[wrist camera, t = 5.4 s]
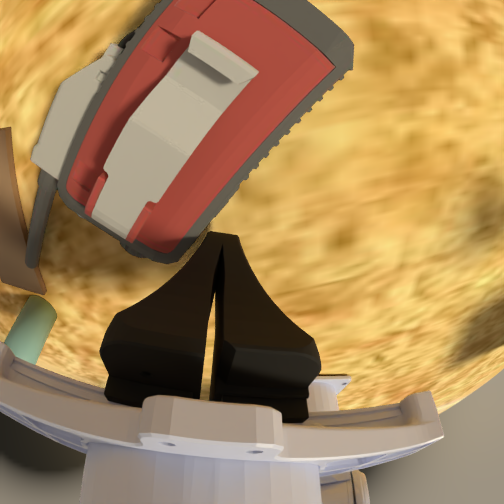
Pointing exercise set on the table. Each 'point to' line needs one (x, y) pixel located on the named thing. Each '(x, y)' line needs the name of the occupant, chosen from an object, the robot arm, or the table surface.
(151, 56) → the walkie-talkie
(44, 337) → the dowel
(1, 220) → the batten
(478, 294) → the table surface
